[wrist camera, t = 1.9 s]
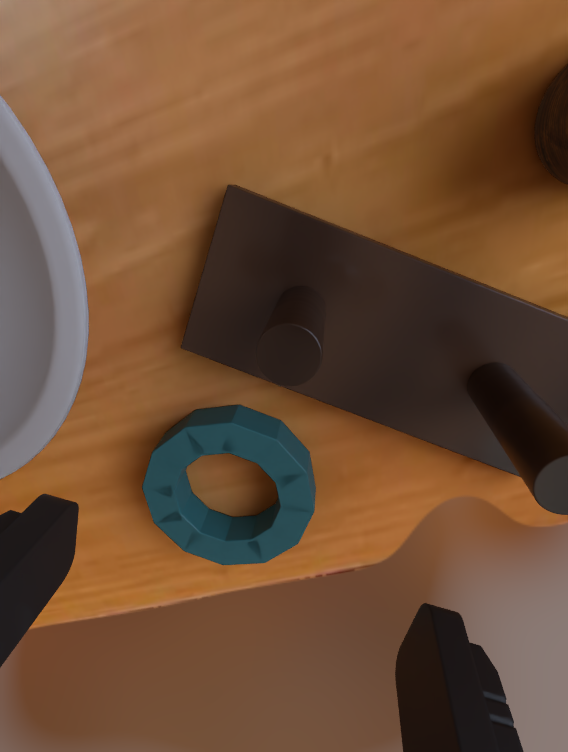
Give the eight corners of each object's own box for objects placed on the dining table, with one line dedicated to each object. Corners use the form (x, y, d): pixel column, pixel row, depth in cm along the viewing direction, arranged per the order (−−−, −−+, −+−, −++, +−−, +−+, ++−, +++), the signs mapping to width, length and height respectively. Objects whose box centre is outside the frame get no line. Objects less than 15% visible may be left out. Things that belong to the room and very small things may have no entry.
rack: (188, 339, 27) (106, 425, 17) (234, 184, 24) (163, 183, 14) (528, 469, 28) (630, 619, 18) (622, 338, 24) (808, 438, 15)
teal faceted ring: (142, 508, 32) (128, 531, 30) (180, 382, 28) (167, 398, 26) (281, 558, 33) (277, 585, 30) (338, 441, 29) (338, 462, 26)
